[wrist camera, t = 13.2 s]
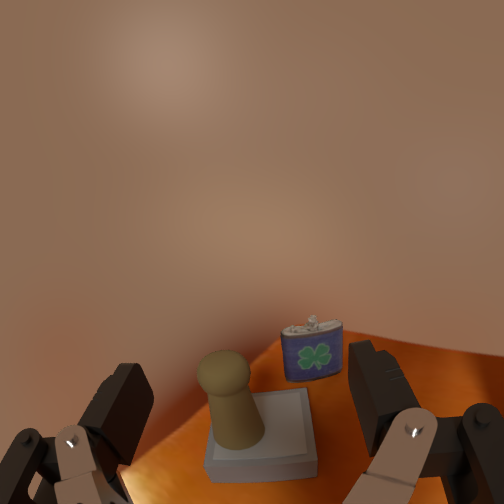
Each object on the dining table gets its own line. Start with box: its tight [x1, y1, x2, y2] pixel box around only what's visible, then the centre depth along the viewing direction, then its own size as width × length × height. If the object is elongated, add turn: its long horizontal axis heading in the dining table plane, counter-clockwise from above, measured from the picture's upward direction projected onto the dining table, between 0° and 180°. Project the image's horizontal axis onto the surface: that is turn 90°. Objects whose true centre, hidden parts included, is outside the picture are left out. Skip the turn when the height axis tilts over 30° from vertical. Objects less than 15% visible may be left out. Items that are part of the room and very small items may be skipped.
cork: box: [197, 350, 265, 450], centre depth 29 cm, size 6×6×11 cm
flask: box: [281, 315, 343, 383], centre depth 43 cm, size 9×3×11 cm, turn 92°
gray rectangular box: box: [203, 387, 318, 483], centre depth 32 cm, size 12×12×4 cm
